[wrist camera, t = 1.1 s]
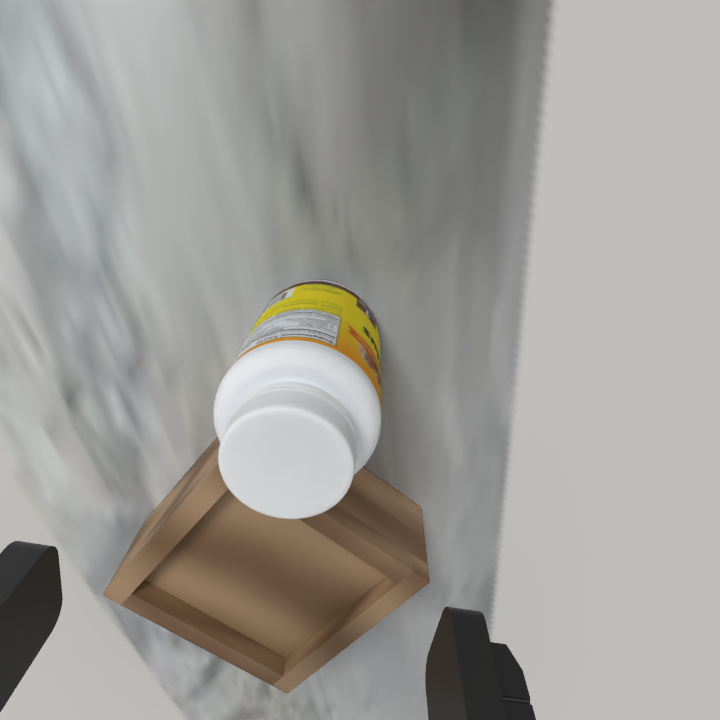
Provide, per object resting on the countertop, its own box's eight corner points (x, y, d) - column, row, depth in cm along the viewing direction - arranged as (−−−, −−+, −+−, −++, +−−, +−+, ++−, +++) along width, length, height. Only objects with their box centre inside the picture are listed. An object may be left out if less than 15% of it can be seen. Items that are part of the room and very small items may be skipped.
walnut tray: (256, 391, 25) (230, 451, 21) (421, 507, 28) (429, 582, 24) (145, 521, 29) (102, 595, 25) (299, 611, 32) (287, 693, 27)
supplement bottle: (373, 391, 25) (371, 550, 16) (260, 380, 25) (191, 533, 16) (387, 281, 23) (394, 392, 14) (262, 268, 23) (182, 371, 13)
